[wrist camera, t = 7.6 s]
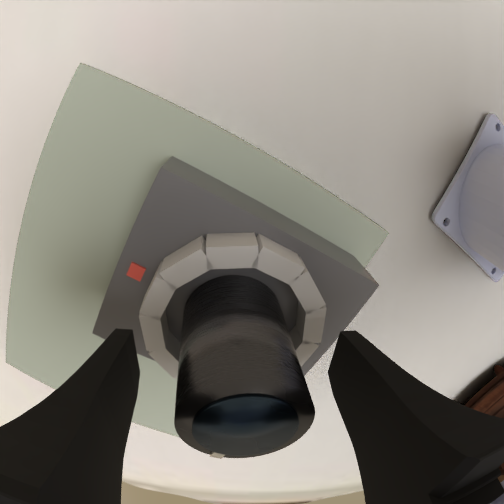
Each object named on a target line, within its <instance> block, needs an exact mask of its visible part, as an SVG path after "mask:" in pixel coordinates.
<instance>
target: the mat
mask: <svg viewBox="0 0 504 504" xmlns="http://www.w3.org/2000/svg"><path fill="white" fill-rule="evenodd" d="M172 156H174V157H176V158H177V159H179V160H181V161H183V162H185V163H187V164H189V165H191V166H193V167H195V168H197V169H199V170H201V171H203V172H205V173H207V174H209V175H210V176H212V177H214V178H216V179H218V180H220V181H222V182H224V183H226V184H227V185H229V186H231V187H233V188H235V189H237V190H239V191H240V192H242V193H244V194H246V195H248V196H250V197H252V198H253V199H255V200H257V201H259V202H261V203H263V204H264V205H266V206H268V207H270V208H272V209H273V210H275V211H277V212H279V213H281V214H282V215H284V216H286V217H288V218H289V219H291V220H293V221H295V222H297V223H298V224H300V225H302V226H304V227H305V228H307V229H309V230H311V231H312V232H314V233H316V234H317V235H319V236H321V237H323V238H324V239H326V240H328V241H329V242H331V243H333V244H335V245H336V246H338V247H340V248H341V249H343V250H345V251H346V252H348V253H350V254H351V255H353V256H354V257H355V258H356V259H357V260H358V261H359V262H360V263H361V265H362V266H363V267H364V268H365V267H366V265H367V264H368V263H369V261H370V260H371V258H372V257H373V255H374V254H375V253H376V251H377V250H378V248H379V247H380V245H381V244H382V243H383V241H384V240H385V238H386V237H387V235H388V234H389V233H388V232H387V231H386V230H385V229H383V228H382V227H380V226H379V225H377V224H376V223H375V222H373V221H372V220H370V219H369V218H367V217H366V216H364V215H363V214H362V213H360V212H359V211H357V210H356V209H354V208H353V207H351V206H350V205H348V204H347V203H345V202H344V201H342V200H341V199H339V198H338V197H336V196H335V195H333V194H332V193H330V192H328V191H327V190H325V189H324V188H322V187H321V186H319V185H318V184H316V183H314V182H313V181H311V180H310V179H308V178H306V177H305V176H303V175H302V174H300V173H298V172H297V171H295V170H293V169H292V168H290V167H288V166H287V165H285V164H283V163H282V162H280V161H278V160H277V159H275V158H273V157H272V156H270V155H268V154H267V153H265V152H263V151H261V150H260V149H258V148H256V147H254V146H253V145H251V144H249V143H247V142H246V141H244V140H242V139H240V138H238V137H237V136H235V135H233V134H231V133H229V132H227V131H226V130H224V129H222V128H220V127H218V126H216V125H214V124H212V123H211V122H209V121H207V120H205V119H203V118H201V117H199V116H197V115H195V114H193V113H191V112H189V111H187V110H185V109H183V108H181V107H179V106H177V105H175V104H173V103H171V102H169V101H167V100H165V99H163V98H161V97H159V96H156V95H154V94H152V93H150V92H148V91H146V90H144V89H141V88H139V87H137V86H135V85H133V84H130V83H128V82H126V81H124V80H121V79H119V78H117V77H114V76H112V75H110V74H107V73H105V72H102V71H100V70H98V69H95V68H93V67H90V66H88V65H85V64H82V63H80V64H79V66H78V68H77V70H76V72H75V74H74V76H73V78H72V80H71V82H70V84H69V86H68V88H67V91H66V93H65V95H64V97H63V99H62V102H61V104H60V106H59V109H58V111H57V113H56V116H55V118H54V121H53V123H52V126H51V128H50V131H49V133H48V136H47V139H46V142H45V144H44V147H43V150H42V153H41V156H40V159H39V162H38V165H37V168H36V171H35V174H34V178H33V181H32V185H31V188H30V192H29V195H28V199H27V203H26V207H25V211H24V215H23V219H22V224H21V228H20V233H19V238H18V243H17V248H16V254H15V259H14V266H13V272H12V279H11V287H10V296H9V306H8V318H7V334H6V363H8V364H10V365H11V366H13V367H15V368H17V369H18V370H20V371H22V372H23V373H25V374H27V375H29V376H31V377H33V378H34V379H36V380H38V381H40V382H42V383H44V384H46V385H48V386H50V387H52V388H54V389H58V388H59V387H60V386H61V385H62V384H63V383H64V382H65V381H66V380H67V379H68V378H69V377H70V376H72V375H73V374H74V373H75V372H76V371H77V370H78V369H79V368H80V367H81V366H82V365H83V364H84V362H85V361H86V360H87V359H88V358H89V357H90V356H91V355H92V354H93V353H94V352H95V351H96V350H97V348H98V347H99V346H100V345H101V344H102V343H103V342H104V341H105V339H103V338H101V337H99V336H97V335H95V334H92V332H93V329H94V326H95V323H96V320H97V317H98V314H99V311H100V308H101V305H102V303H103V300H104V297H105V294H106V292H107V289H108V286H109V284H110V281H111V278H112V276H113V273H114V271H115V268H116V266H117V263H118V261H119V258H120V256H121V253H122V251H123V248H124V246H125V244H126V241H127V239H128V237H129V234H130V232H131V230H132V227H133V225H134V223H135V221H136V218H137V216H138V214H139V212H140V210H141V207H142V205H143V203H144V201H145V199H146V197H147V195H148V192H149V190H150V188H151V186H152V184H153V182H154V180H155V178H156V176H157V174H158V172H159V170H160V168H161V167H162V166H163V165H164V164H165V163H166V162H167V161H168V160H169V159H170V158H171V157H172ZM137 357H138V363H139V368H140V379H139V387H138V395H137V400H136V404H135V408H134V413H133V417H132V421H131V422H134V423H136V424H139V425H142V426H145V427H148V428H151V429H154V430H157V431H160V432H164V433H167V434H170V435H174V436H177V437H179V435H178V434H177V432H176V429H175V425H174V417H175V402H176V389H177V378H175V379H174V378H173V377H172V376H170V375H169V374H168V373H167V372H166V371H165V370H164V369H163V368H162V367H161V366H160V365H159V364H158V363H157V362H156V361H154V360H151V359H149V358H147V357H144V356H142V355H139V354H137Z"/></svg>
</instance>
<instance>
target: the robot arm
mask: <svg viewBox="0 0 504 504" xmlns="http://www.w3.org/2000/svg"><path fill="white" fill-rule="evenodd" d="M445 218H446V221H445V223H444V224H443V221H444V219H445ZM432 221H433V223H434V224H436V225H437V226H438V227H439V228H440V229H441V230H442V231H443V232H444V233H445V234H447V235H448V236H449V237H450V238H451V239H452V240H453V241H454V242H455V243H456V244H457V245H458V246H459V247H460V248H461V249H462V250H463V251H464V252H465V253H467V254H468V255H469V256H470V257H471V258H472V259H473V260H474V261H475V262H476V263H477V264H478V265H479V266H480V268H481V269H482V270H483V271H484V272H485V273H486V274H487V275H488V276H489V277H490V278H491V279H492V280H493V281H494V282H498V281H499V280H500V279H501V277H502V276H503V274H504V126H503V124H502V123H501V121H500V120H499V119H498V117H497V116H496V115H495V114H492V113H489V114H487V115H486V117H485V119H484V121H483V123H482V126H481V128H480V130H479V132H478V134H477V136H476V138H475V139H474V141H473V143H472V145H471V147H470V149H469V151H468V153H467V155H466V157H465V158H464V160H463V162H462V164H461V166H460V167H459V169H458V171H457V173H456V175H455V176H454V178H453V180H452V182H451V183H450V185H449V187H448V188H447V190H446V192H445V193H444V195H443V197H442V198H441V200H440V202H439V203H438V205H437V207H436V208H435V210H434V211H433V214H432ZM328 375H329V379H330V384H331V388H332V392H333V395H334V398H335V401H336V403H337V406H338V408H339V411H340V414H341V416H342V419H343V421H344V424H345V426H346V429H347V431H348V434H349V436H350V439H351V441H352V444H353V447H354V450H355V454H356V458H357V462H358V466H359V470H360V475H361V480H362V485H363V490H364V495H365V502H366V504H504V480H503V481H502V482H501V483H500V481H499V479H498V477H500V476H501V471H500V469H499V466H500V465H501V464H502V463H504V419H503V418H499V417H495V416H491V415H488V414H485V413H482V412H479V411H477V410H474V409H471V408H469V407H466V406H464V405H462V404H460V403H458V402H455V401H453V400H451V399H449V398H447V397H445V396H444V395H442V394H440V393H438V392H436V391H435V390H433V389H431V388H430V387H428V386H426V385H425V384H423V383H422V382H420V381H419V380H417V379H416V378H415V377H413V376H412V375H410V374H409V373H408V372H406V371H405V370H404V369H402V368H401V367H400V366H398V365H397V364H396V363H395V362H393V361H392V360H391V359H390V358H388V357H387V356H386V355H385V354H384V353H382V352H381V351H380V350H379V349H378V348H376V347H375V346H374V345H373V344H372V343H370V342H369V341H368V340H367V339H366V338H364V337H363V336H362V335H361V334H359V333H358V332H357V331H340V334H339V337H338V340H337V344H336V347H335V351H334V354H333V357H332V360H331V363H330V367H329V370H328ZM139 379H140V368H139V363H138V357H137V352H136V346H135V340H134V334H133V330H132V329H118V328H116V329H115V330H114V331H113V332H112V333H111V334H110V335H109V336H108V337H107V338H106V340H105V341H104V342H103V343H102V344H101V345H100V346H99V347H98V348H97V350H96V351H95V352H94V353H93V354H92V355H91V356H90V357H89V358H88V359H87V360H86V361H85V362H84V364H83V365H82V366H81V367H80V368H79V369H78V370H77V371H76V372H75V373H74V374H73V375H72V376H70V377H69V378H68V379H67V380H66V381H65V382H64V383H63V384H62V385H61V386H60V387H59V388H58V389H56V390H55V391H54V392H53V393H52V394H50V395H49V396H48V397H47V398H45V399H44V400H43V401H41V402H40V403H39V404H37V405H36V406H34V407H33V408H31V409H30V410H28V411H27V412H25V413H24V414H22V415H21V416H19V417H17V418H16V419H14V420H12V421H10V422H9V423H7V424H5V425H3V426H1V427H0V504H121V483H122V469H123V458H124V452H125V447H126V442H127V438H128V433H129V429H130V425H131V421H132V417H133V413H134V408H135V404H136V400H137V395H138V387H139Z"/></svg>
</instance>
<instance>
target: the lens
mask: <svg viewBox="0 0 504 504" xmlns="http://www.w3.org/2000/svg"><path fill="white" fill-rule="evenodd" d="M314 416H315V408H314V405H313V402H312V399H311V396H310V393H309V390H308V387H307V384H306V381H305V378H304V375H303V372H302V369H301V366H300V363H299V360H298V357H297V354H296V351H295V348H294V345H293V342H292V339H291V336H290V333H289V330H288V327H287V324H286V321H285V318H284V315H283V313H282V310H281V307H280V304H279V301H278V299H277V297H276V295H275V294H274V292H273V291H272V290H271V289H270V288H269V287H268V286H267V285H265V284H264V283H263V282H261V281H259V280H257V279H254V278H252V277H248V276H243V275H225V276H220V277H216V278H213V279H211V280H209V281H207V282H205V283H203V284H202V285H200V286H199V287H198V288H196V289H195V290H194V291H193V293H192V294H191V295H190V297H189V298H188V300H187V302H186V304H185V308H184V314H183V323H182V333H181V343H180V353H179V364H178V376H177V389H176V402H175V417H174V425H175V429H176V432H177V434H178V435H179V437H180V438H181V439H182V440H183V441H184V442H185V443H187V444H188V445H189V446H191V447H193V448H194V449H196V450H198V451H201V452H204V453H206V454H210V456H211V457H215V458H220V459H221V458H223V457H227V458H247V457H255V456H261V455H265V454H269V453H272V452H275V451H278V450H280V449H282V448H285V447H287V446H289V445H290V444H292V443H294V442H295V441H297V440H298V439H299V438H301V437H302V436H303V435H304V434H305V433H306V432H307V430H308V429H309V428H310V426H311V425H312V423H313V420H314Z"/></svg>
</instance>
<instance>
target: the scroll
mask: <svg viewBox="0 0 504 504" xmlns="http://www.w3.org/2000/svg"><path fill="white" fill-rule="evenodd" d="M494 371H495V374H496V377H495V378H493V379H492V380H491V381H490V382H489V383H488V384H486V385H485V386H484V387H483V388H482V389H481V390H480V391H479V392H477V393H476V394H475V395H474V396H473V397H472V398H471V399H470V400H469V401H468V402H467V403H466V404H465V405H464V406H466V407H469V408H471V409H474V410H477V411H479V412H482V413H485V414H488V415H491V416H495V417H499V418H503V419H504V368H503V367H502V366H500V365H495V366H494ZM499 469H500V471H501V476H500V477H498V479H499V481H500V483H501V482H502V481H503V480H504V463H502V464H501V465H500V466H499Z"/></svg>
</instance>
